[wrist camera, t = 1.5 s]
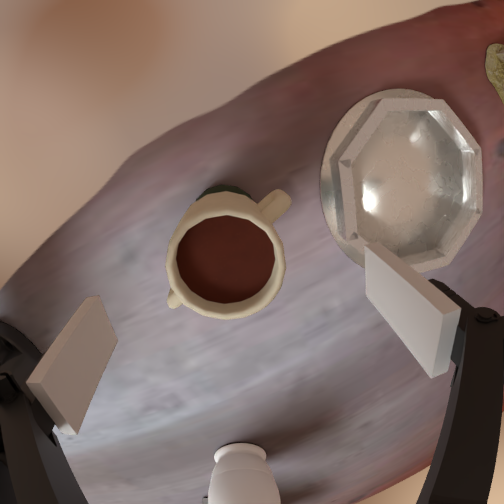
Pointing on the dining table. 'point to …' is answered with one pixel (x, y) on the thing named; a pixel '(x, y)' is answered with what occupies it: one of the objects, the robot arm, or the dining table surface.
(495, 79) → the ceramic model
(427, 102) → the octagonal bowl
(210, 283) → the character mug
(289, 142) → the dining table surface
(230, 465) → the jar
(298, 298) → the dining table surface
